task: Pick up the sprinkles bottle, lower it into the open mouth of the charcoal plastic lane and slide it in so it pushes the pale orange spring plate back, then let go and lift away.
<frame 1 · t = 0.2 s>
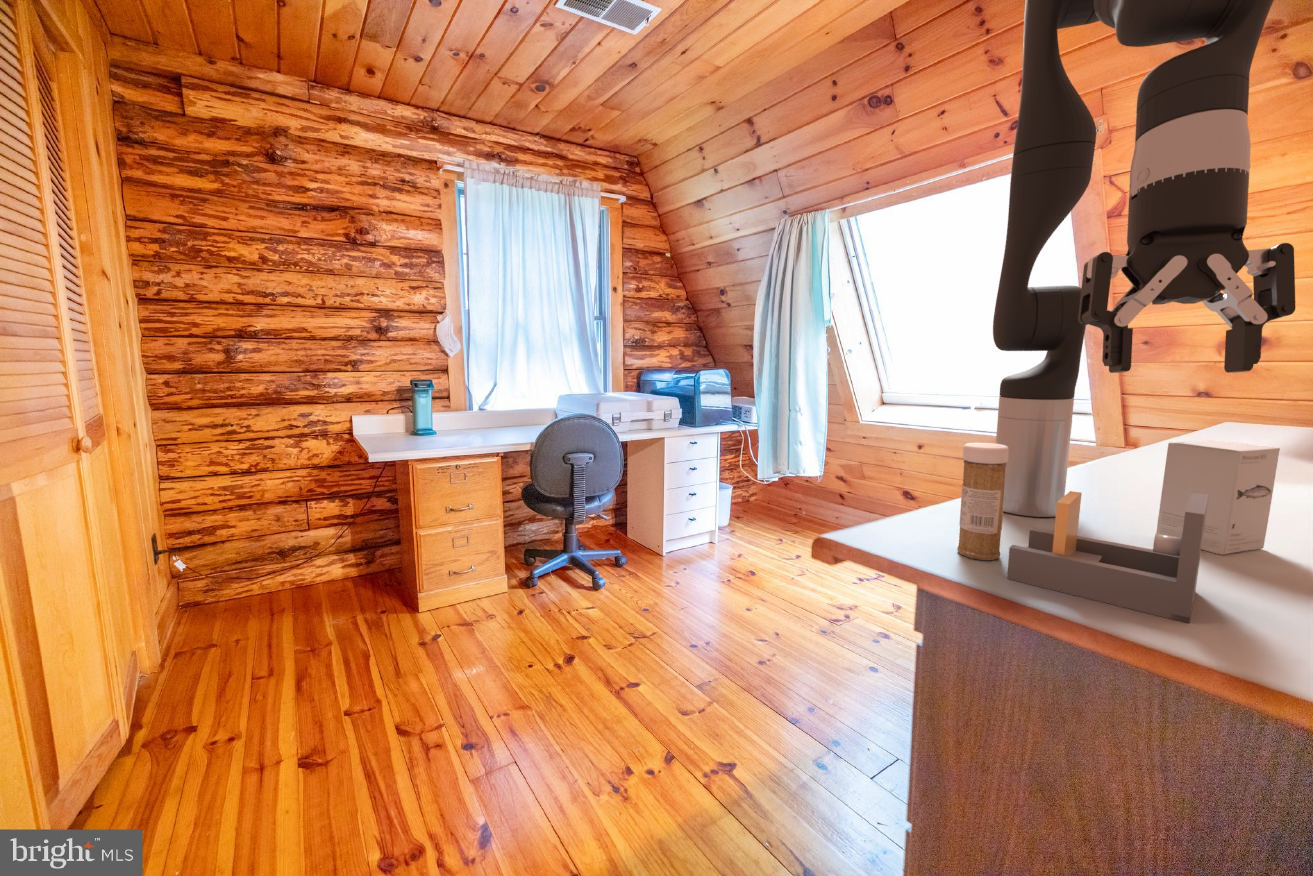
hand: (1177, 371, 48), 22 cm above the table, tool pointing down, fingers open, 8 cm apart
lane: (1090, 583, 58), on the table
supplement box: (1207, 545, 69), on the table
sprinkles bottle: (977, 556, 67), on the table
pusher: (1080, 536, 58), point 5 cm above the table, slide at 0.0 cm
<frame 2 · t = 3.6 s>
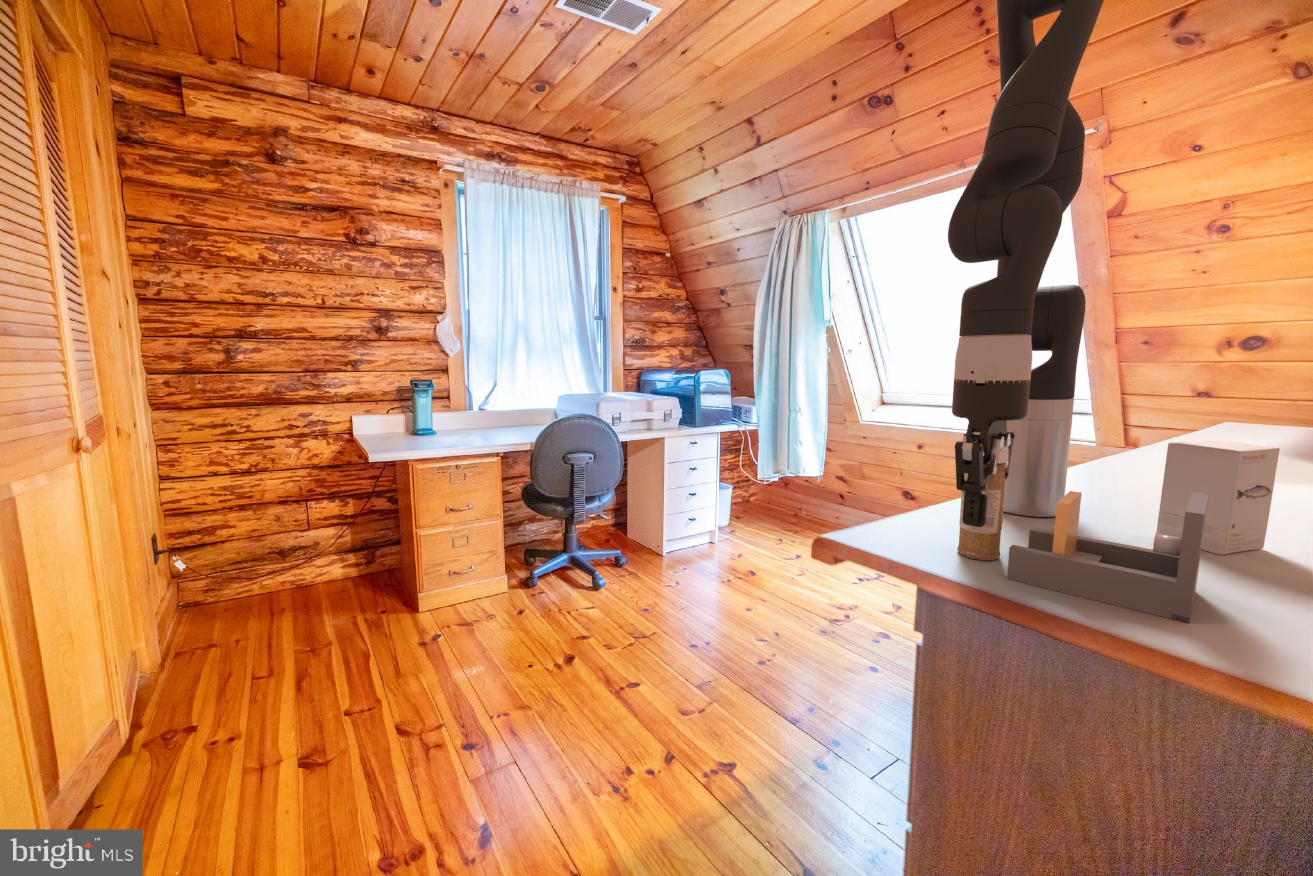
hand: (980, 520, 66), 4 cm above the table, tool pointing down, fingers closed on sprinkles bottle, 4 cm apart
sprinkles bottle: (977, 556, 67), on the table, touching gripper
everything else where it was.
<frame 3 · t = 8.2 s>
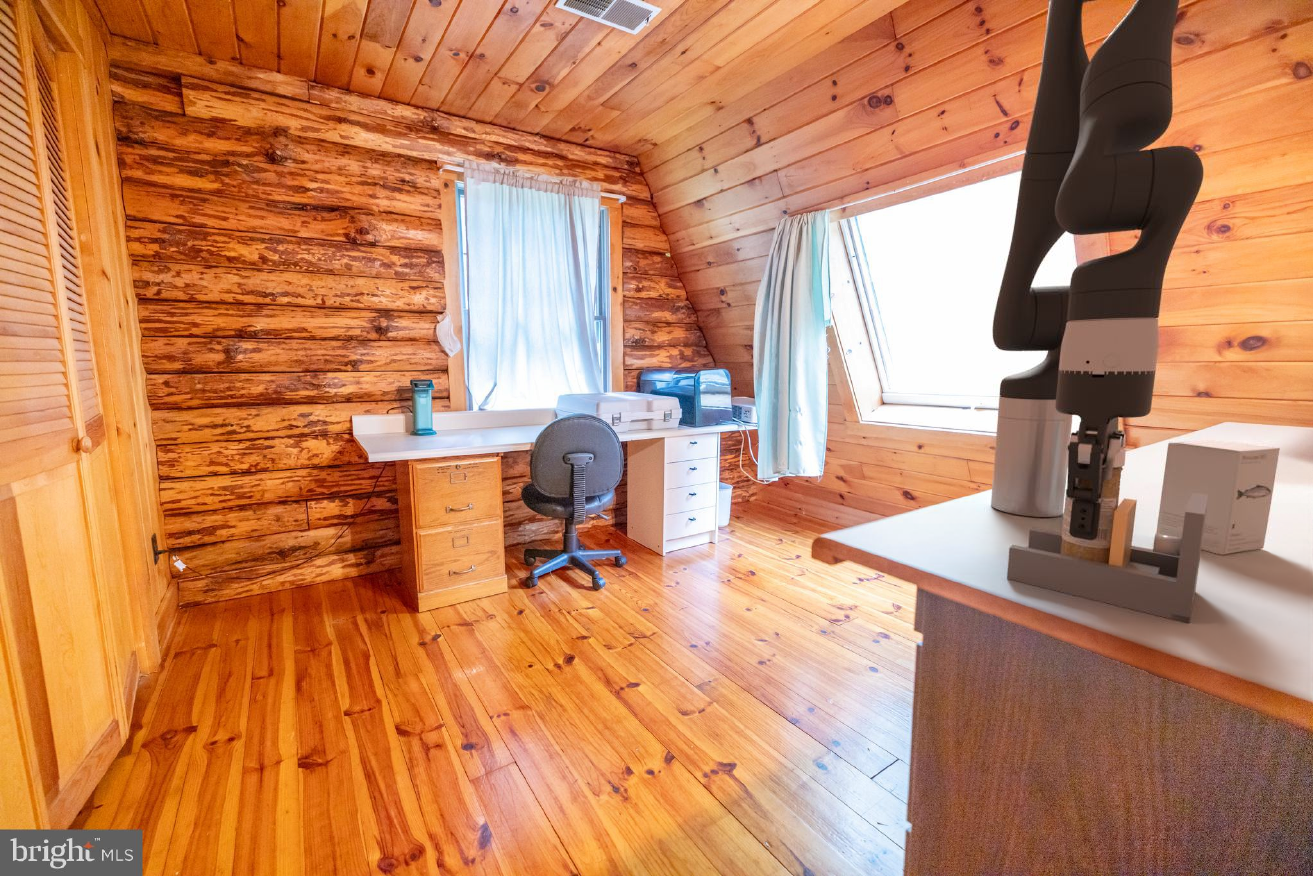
hand: (1087, 531, 58), 5 cm above the table, tool pointing down, fingers closed on sprinkles bottle, 4 cm apart
sprinkles bottle: (1083, 572, 58), point 1 cm above the table, touching gripper, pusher
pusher: (1137, 546, 55), point 5 cm above the table, slide at 4.6 cm, touching sprinkles bottle
everything else where it was.
when the fingers open (5 cm above the table, at t = 9.2 s): sprinkles bottle stays where it is, resting on lane.
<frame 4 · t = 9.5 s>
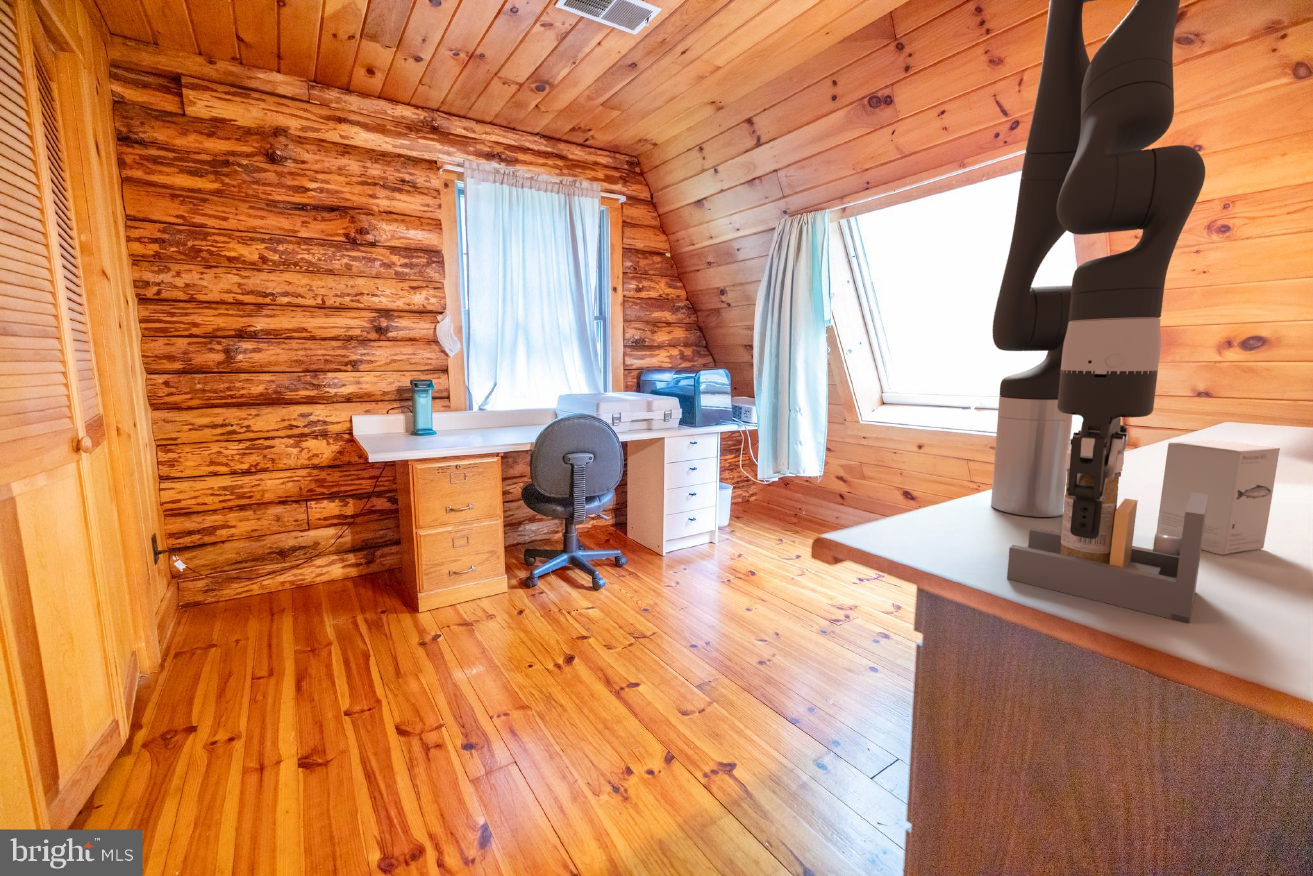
hand: (1090, 528, 57), 6 cm above the table, tool pointing down, fingers open, 6 cm apart
sprinkles bottle: (1083, 578, 58), resting on lane
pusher: (1138, 546, 55), point 5 cm above the table, slide at 4.6 cm
everything else where it was.
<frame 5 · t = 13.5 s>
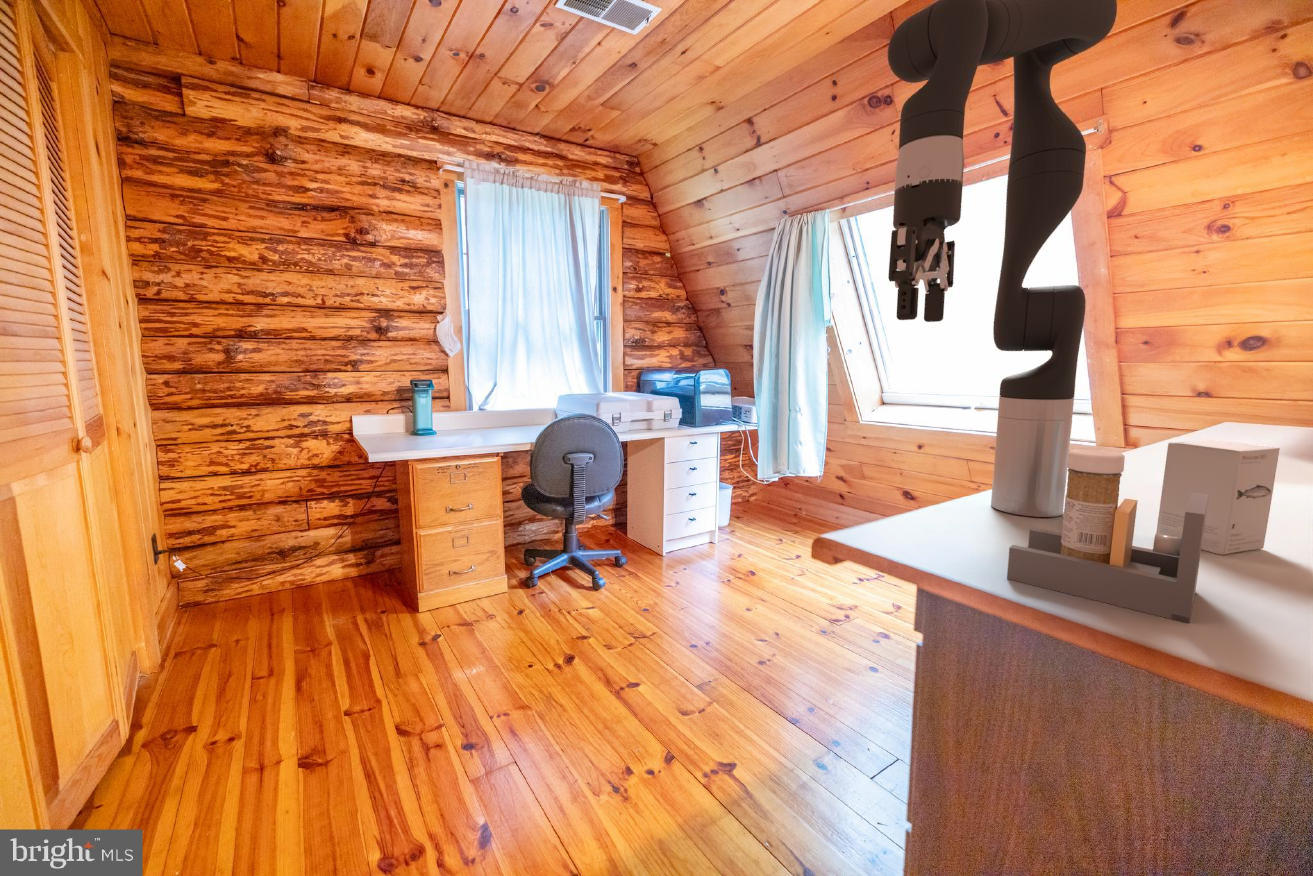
hand: (920, 320, 70), 28 cm above the table, tool pointing down, fingers open, 8 cm apart
nothing on the table moved.
at the end: sprinkles bottle inside the target area (0.6 cm from its centre), resting on lane; sprinkles bottle tilted 0°; the gripper is holding nothing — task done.
